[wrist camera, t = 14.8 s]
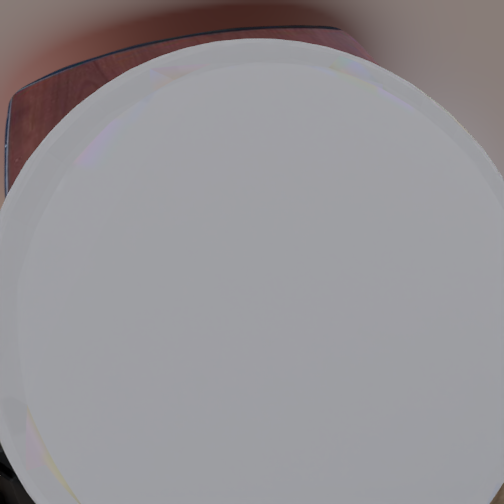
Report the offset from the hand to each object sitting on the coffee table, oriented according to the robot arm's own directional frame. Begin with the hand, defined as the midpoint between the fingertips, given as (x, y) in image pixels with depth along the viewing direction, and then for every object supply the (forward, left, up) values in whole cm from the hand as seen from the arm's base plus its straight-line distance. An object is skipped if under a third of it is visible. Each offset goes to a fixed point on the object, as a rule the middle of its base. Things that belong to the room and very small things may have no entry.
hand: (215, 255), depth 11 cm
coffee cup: (+1, -3, -4) cm, 5 cm away
